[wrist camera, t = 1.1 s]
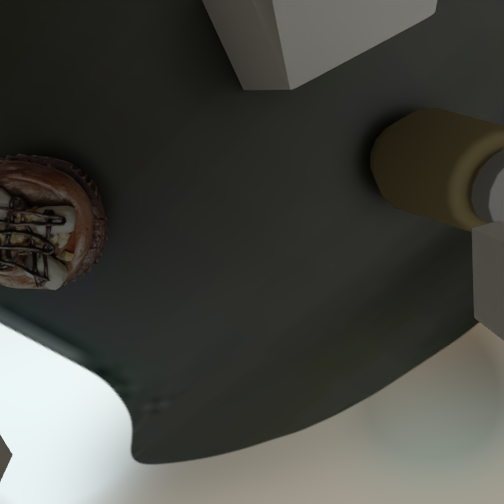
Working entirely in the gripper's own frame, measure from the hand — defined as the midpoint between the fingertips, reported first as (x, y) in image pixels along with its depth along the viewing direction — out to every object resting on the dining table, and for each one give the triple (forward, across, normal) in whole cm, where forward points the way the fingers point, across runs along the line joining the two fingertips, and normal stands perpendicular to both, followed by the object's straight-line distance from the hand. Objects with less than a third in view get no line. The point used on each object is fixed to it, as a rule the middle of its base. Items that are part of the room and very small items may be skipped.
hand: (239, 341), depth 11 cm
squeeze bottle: (+25, +17, -3) cm, 31 cm away
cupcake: (+25, -12, 0) cm, 28 cm away
